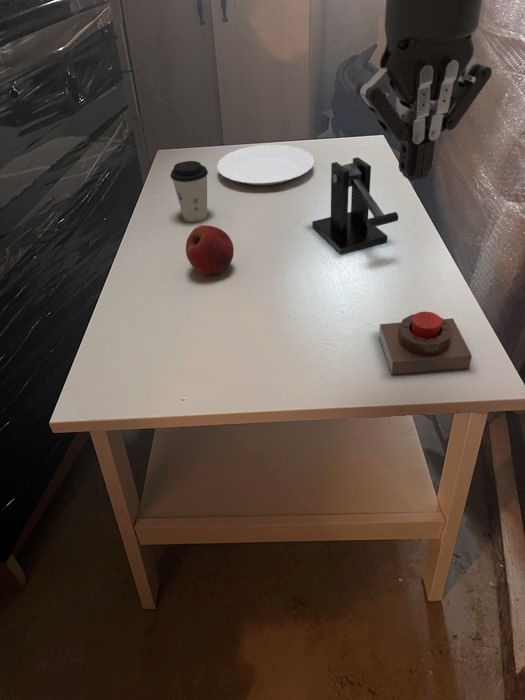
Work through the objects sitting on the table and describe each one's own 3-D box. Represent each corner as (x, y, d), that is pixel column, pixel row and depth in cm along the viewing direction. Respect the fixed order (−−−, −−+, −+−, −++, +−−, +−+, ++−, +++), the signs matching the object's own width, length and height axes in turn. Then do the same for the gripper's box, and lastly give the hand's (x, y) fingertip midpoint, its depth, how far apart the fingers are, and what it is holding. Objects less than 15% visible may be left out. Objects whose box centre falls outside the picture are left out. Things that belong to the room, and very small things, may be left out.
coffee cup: (217, 208, 115) (211, 158, 109) (208, 225, 110) (201, 174, 103) (183, 207, 116) (175, 158, 110) (172, 224, 111) (163, 173, 105)
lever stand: (387, 242, 101) (393, 170, 93) (340, 254, 99) (342, 182, 91) (355, 216, 109) (358, 148, 101) (312, 227, 107) (311, 158, 99)
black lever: (396, 225, 93) (400, 213, 91) (368, 232, 91) (371, 221, 89) (358, 172, 99) (361, 160, 97) (332, 178, 98) (334, 166, 96)
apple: (185, 264, 99) (177, 221, 94) (229, 254, 101) (224, 212, 96) (194, 286, 94) (187, 242, 89) (240, 276, 95) (236, 232, 90)
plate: (215, 159, 135) (214, 149, 133) (305, 150, 136) (305, 140, 134) (220, 198, 119) (219, 187, 117) (323, 187, 120) (323, 176, 118)
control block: (450, 330, 81) (454, 307, 79) (469, 368, 75) (474, 344, 72) (378, 336, 81) (380, 313, 79) (391, 375, 75) (393, 351, 72)
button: (435, 321, 77) (437, 310, 76) (443, 337, 74) (445, 326, 73) (408, 323, 77) (409, 312, 76) (415, 340, 74) (416, 329, 73)
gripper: (388, -19, 42) (374, 207, 53) (539, -40, 45) (495, 177, 56) (339, -29, 47) (335, 177, 58) (476, -48, 50) (448, 151, 61)
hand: (414, 176), depth 57 cm, fingers closed
